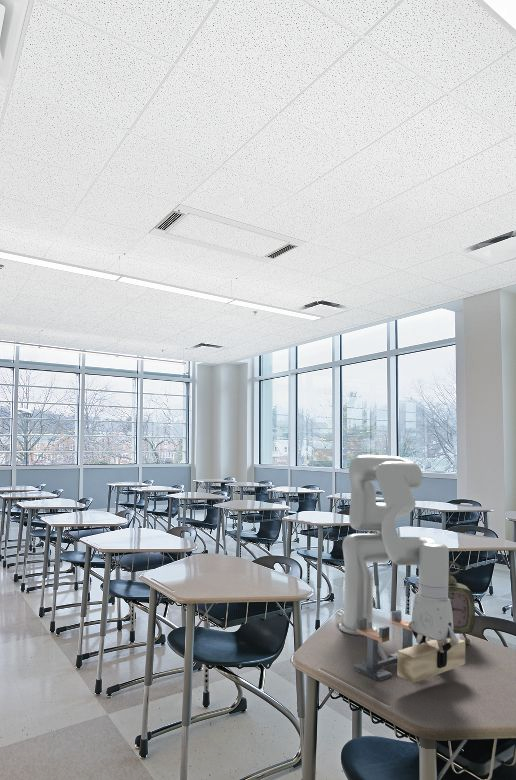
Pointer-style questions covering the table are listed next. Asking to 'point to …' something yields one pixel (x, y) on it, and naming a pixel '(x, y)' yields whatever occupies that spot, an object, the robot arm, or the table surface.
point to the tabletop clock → (461, 606)
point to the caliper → (378, 644)
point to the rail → (427, 660)
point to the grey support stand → (373, 637)
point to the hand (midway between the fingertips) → (432, 662)
